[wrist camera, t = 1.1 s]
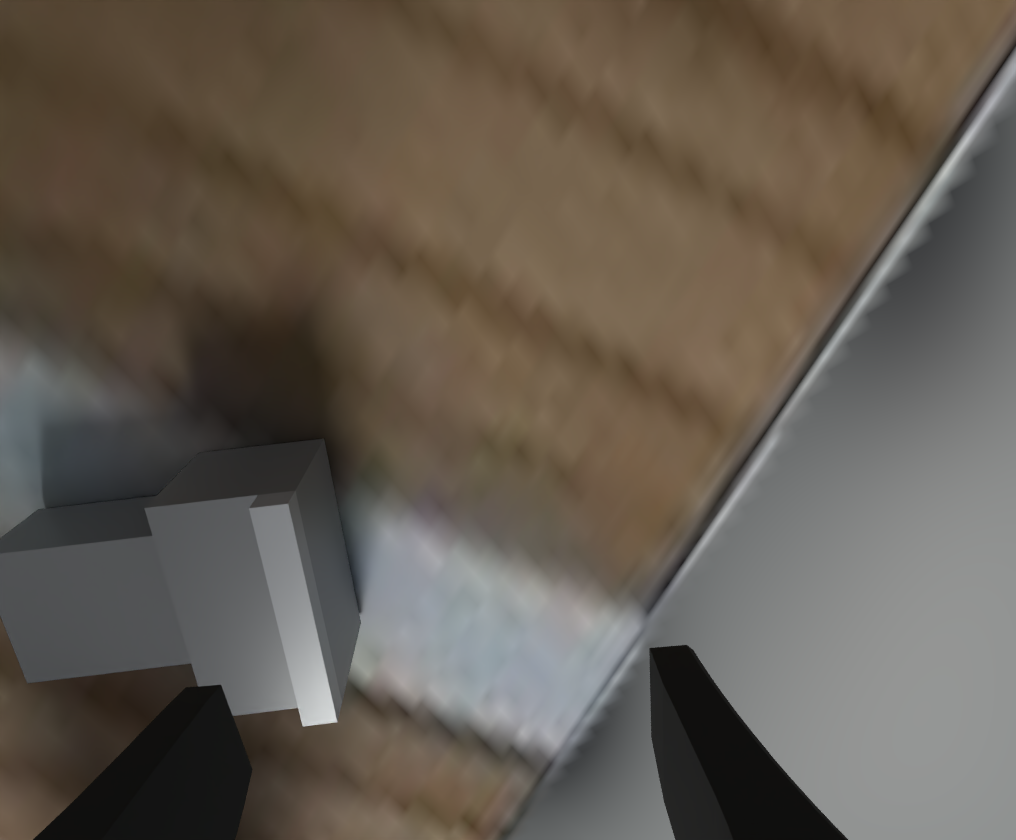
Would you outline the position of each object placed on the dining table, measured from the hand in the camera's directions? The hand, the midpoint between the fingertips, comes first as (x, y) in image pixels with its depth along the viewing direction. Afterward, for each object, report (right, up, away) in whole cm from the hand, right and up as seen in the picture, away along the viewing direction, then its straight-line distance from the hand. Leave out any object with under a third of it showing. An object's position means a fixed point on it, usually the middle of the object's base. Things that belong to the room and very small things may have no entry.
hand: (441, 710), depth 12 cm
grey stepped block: (-8, +1, +12) cm, 15 cm away
